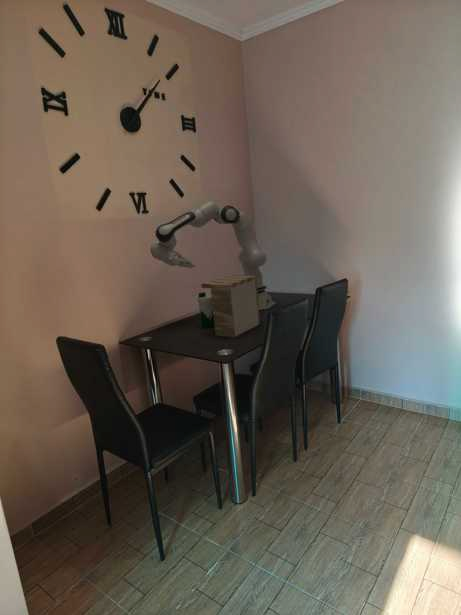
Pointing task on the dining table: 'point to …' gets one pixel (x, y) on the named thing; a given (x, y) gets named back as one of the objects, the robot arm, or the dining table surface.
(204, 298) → the milk carton
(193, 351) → the dining table surface
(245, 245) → the robot arm
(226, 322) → the wooden shelf
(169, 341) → the dining table surface
